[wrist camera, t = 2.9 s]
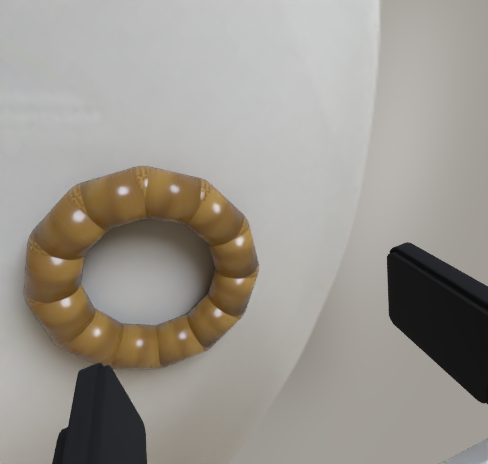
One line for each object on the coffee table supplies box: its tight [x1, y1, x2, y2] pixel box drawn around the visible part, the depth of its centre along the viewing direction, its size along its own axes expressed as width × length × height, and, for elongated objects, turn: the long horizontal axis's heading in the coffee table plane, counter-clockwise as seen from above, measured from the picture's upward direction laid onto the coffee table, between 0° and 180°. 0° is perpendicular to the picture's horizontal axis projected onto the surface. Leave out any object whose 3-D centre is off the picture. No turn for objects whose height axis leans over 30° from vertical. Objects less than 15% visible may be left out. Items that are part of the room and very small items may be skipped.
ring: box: [24, 166, 259, 369], centre depth 15 cm, size 10×10×2 cm
